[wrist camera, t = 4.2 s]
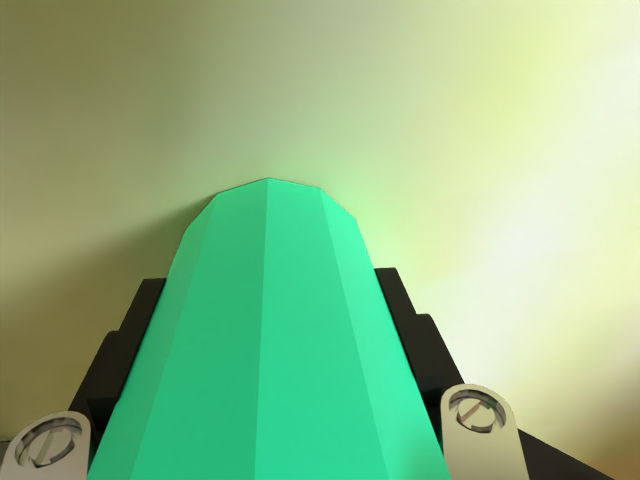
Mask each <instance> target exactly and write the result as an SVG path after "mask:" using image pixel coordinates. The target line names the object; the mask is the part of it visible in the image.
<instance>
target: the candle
mask: <svg viewBox="0 0 640 480" xmlns="http://www.w3.org/2000/svg"><path fill="white" fill-rule="evenodd" d="M166 278H167V279H166V282H165V284H164V287H163V289H162V292H161V294H160V297H159V299H158V302H157V304H156V307H155V310H154V312H153V315H152V317H151V320H150V322H149V325H148V327H147V330H146V332H145V335H144V337H143V340H142V342H141V345H140V347H139V350H138V352H137V355H136V357H135V360H134V362H133V365H132V368H131V370H130V373H129V375H128V378H127V380H126V383H125V385H124V387H123V390H122V393H121V395H120V398H119V400H118V402H117V403H116V405H115V407H114V410H113V412H112V415H111V417H110V420H109V422H108V425H107V427H106V430H105V432H104V435H103V437H102V440H101V442H100V445H99V447H98V450H97V452H96V455H95V457H94V460H93V462H92V465H91V467H90V470H89V472H88V475H87V477H86V480H452V479H451V476H450V473H449V471H448V468H447V465H446V463H445V460H444V457H443V454H442V452H441V449H440V446H439V444H438V441H437V438H436V436H435V433H434V430H433V427H432V425H431V422H430V419H429V417H428V414H427V411H426V409H425V406H424V403H423V400H422V398H421V395H420V392H419V390H418V387H417V384H416V382H415V379H414V376H413V373H412V371H411V368H410V365H409V363H408V360H407V357H406V355H405V352H404V349H403V346H402V344H401V341H400V338H399V336H398V333H397V330H396V328H395V325H394V322H393V319H392V317H391V314H390V311H389V309H388V306H387V303H386V301H385V298H384V295H383V292H382V290H381V287H380V284H379V282H378V279H377V276H376V274H375V271H374V268H373V265H372V263H371V260H370V257H369V255H368V252H367V249H366V247H365V244H364V241H363V238H362V236H361V233H360V230H359V228H358V225H357V222H356V220H355V219H354V218H353V217H352V216H351V215H350V214H349V213H348V212H346V211H345V210H344V209H343V208H342V207H341V206H339V205H338V204H337V203H336V202H335V201H334V200H333V199H331V198H330V197H329V196H328V195H327V194H326V193H325V192H323V191H322V190H321V189H320V188H316V187H311V186H306V185H301V184H296V183H291V182H286V181H281V180H276V179H271V178H266V179H263V180H260V181H256V182H253V183H250V184H247V185H243V186H240V187H237V188H234V189H231V190H227V191H224V192H221V193H218V194H217V195H216V196H215V197H214V198H213V199H212V200H211V202H210V203H209V204H208V205H207V206H206V207H205V208H204V209H203V211H202V212H201V213H200V214H199V215H198V216H197V217H196V218H195V219H194V221H193V222H192V223H191V224H190V225H189V226H188V227H187V228H186V230H185V233H184V235H183V238H182V240H181V242H180V245H179V247H178V250H177V252H176V255H175V257H174V260H173V262H172V265H171V267H170V270H169V272H168V275H167V277H166Z"/></svg>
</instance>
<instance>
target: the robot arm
mask: <svg viewBox="0 0 640 480" xmlns="http://www.w3.org/2000/svg"><path fill="white" fill-rule="evenodd" d="M374 271H375V274H376V276H377V279H378V282H379V284H380V287H381V290H382V292H383V295H384V298H385V301H386V303H387V306H388V309H389V311H390V314H391V317H392V319H393V322H394V325H395V328H396V330H397V333H398V336H399V338H400V341H401V344H402V346H403V349H404V352H405V355H406V357H407V360H408V363H409V365H410V368H411V371H412V373H413V376H414V379H415V382H416V384H417V387H418V390H419V392H420V395H421V398H422V400H423V403H424V406H425V409H426V411H427V414H428V417H429V419H430V422H431V425H432V427H433V430H434V433H435V436H436V438H437V441H438V444H439V446H440V449H441V452H442V454H443V457H444V460H445V463H446V465H447V468H448V471H449V473H450V476H451V479H452V480H614V479H612V478H610V477H608V476H607V475H605V474H603V473H601V472H599V471H597V470H595V469H593V468H591V467H590V466H588V465H586V464H584V463H582V462H580V461H578V460H576V459H575V458H573V457H571V456H569V455H567V454H565V453H563V452H561V451H559V450H558V449H556V448H554V447H552V446H550V445H548V444H546V443H544V442H542V441H541V440H539V439H537V438H535V437H533V436H531V435H529V434H527V433H525V432H524V431H522V430H520V429H518V428H517V426H516V422H515V418H514V414H513V412H512V410H511V408H510V406H509V405H508V404H507V402H506V401H505V400H504V399H503V398H502V397H501V396H499V395H498V394H497V393H495V392H494V391H492V390H490V389H487V388H485V387H483V386H478V385H474V384H465V383H464V381H463V379H462V377H461V375H460V373H459V371H458V369H457V367H456V365H455V363H454V361H453V359H452V357H451V355H450V353H449V351H448V349H447V347H446V345H445V343H444V341H443V339H442V337H441V335H440V333H439V331H438V329H437V327H436V325H435V323H434V321H433V319H432V317H431V316H430V315H429V314H416V311H415V309H414V307H413V305H412V303H411V300H410V298H409V296H408V294H407V292H406V289H405V287H404V285H403V283H402V281H401V278H400V276H399V274H398V272H397V270H396V268H375V269H374ZM166 279H167V278H158V279H144V280H143V281H142V283H141V285H140V287H139V289H138V291H137V293H136V295H135V297H134V300H133V302H132V304H131V306H130V308H129V310H128V312H127V314H126V316H125V318H124V320H123V322H122V324H121V327H120V329H119V331H111V332H109V333H108V334H107V335H106V337H105V339H104V341H103V343H102V344H101V346H100V348H99V350H98V352H97V354H96V356H95V358H94V360H93V362H92V364H91V366H90V368H89V370H88V372H87V374H86V376H85V378H84V380H83V382H82V384H81V385H80V387H79V389H78V391H77V393H76V395H75V397H74V399H73V401H72V403H71V405H70V407H69V409H68V411H62V412H55V413H52V414H49V415H46V416H44V417H41V418H39V419H38V420H36V421H34V422H32V423H30V424H29V425H28V426H26V427H25V428H24V429H23V430H21V431H20V432H19V433H18V434H17V435H16V437H15V438H14V439H13V440H12V441H11V443H10V444H9V447H8V449H7V451H6V453H5V456H4V460H3V464H2V467H1V470H0V480H86V477H87V475H88V472H89V470H90V467H91V465H92V462H93V460H94V457H95V455H96V452H97V450H98V447H99V445H100V442H101V440H102V437H103V435H104V432H105V430H106V427H107V425H108V422H109V420H110V417H111V415H112V412H113V410H114V407H115V405H116V403H117V402H118V400H119V398H120V395H121V393H122V390H123V387H124V385H125V383H126V380H127V378H128V375H129V373H130V370H131V368H132V365H133V362H134V360H135V357H136V355H137V352H138V350H139V347H140V345H141V342H142V340H143V337H144V335H145V332H146V330H147V327H148V325H149V322H150V320H151V317H152V315H153V312H154V310H155V307H156V304H157V302H158V299H159V297H160V294H161V292H162V289H163V287H164V284H165V282H166Z"/></svg>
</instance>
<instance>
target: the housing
mask: <svg viewBox="0 0 640 480" xmlns="http://www.w3.org/2000/svg"><path fill="white" fill-rule="evenodd" d="M10 443H11V442H0V470H1V467H2V464H3V460H4V456H5V453H6V451H7V449H8V447H9V444H10Z"/></svg>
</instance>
